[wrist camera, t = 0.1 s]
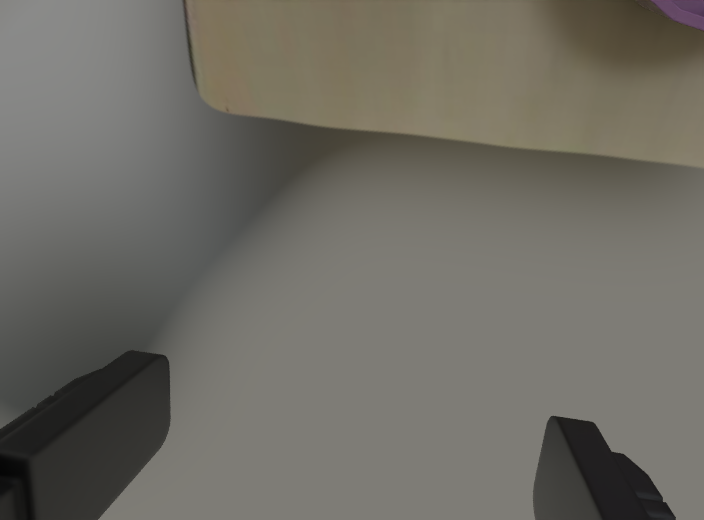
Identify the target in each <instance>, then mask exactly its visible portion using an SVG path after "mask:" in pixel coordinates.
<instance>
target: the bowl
mask: <svg viewBox="0 0 704 520" xmlns="http://www.w3.org/2000/svg"><path fill="white" fill-rule="evenodd" d="M635 1H636V2H637V3H638V4H639V5H640V6H642V7H644V8H646V9H648V10H651V11H653V12H655V13H657V14H659V15H662V16H664V17H666V18H668V19H670V20H673V21H675V22H678V23H681V24H684V25H687V26H690V27H693V28H696V29H699V30H702V31H704V0H635Z"/></svg>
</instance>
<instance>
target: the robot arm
mask: <svg viewBox="0 0 704 520" xmlns="http://www.w3.org/2000/svg"><path fill="white" fill-rule="evenodd" d="M169 426H170V371H169V361H168V359H167V357H166V356H164V355H160V354H153V353H147V352H140V351H134V350H130V351H127V352H125V353H124V354H122V355H121V356H120V357H118V358H117V359H115V360H114V361H113V362H111V363H110V364H108V365H107V366H105V367H104V368H102V369H99V370H96V371H94V372H91V373H89V374H86V375H84V376H81V377H79V378H76V379H74V380H73V381H71V382H70V383H68V384H67V385H65V386H64V387H62V388H61V389H60V390H58V391H56V392H55V394H54V396H49V397H48V398H46V399H44V400H43V401H41V402H40V403H38V404H37V407H36V408H34V407H32V408H31V409H30V410H28V411H27V412H25V413H24V414H22V415H21V416H19V417H18V418H17V419H15V420H13V421H12V422H10V423H9V424H7V425H6V426H4V427H3V428H1V429H0V520H98V519H99V518H100V517H101V515H102V514H103V513H104V512H105V511H106V510H107V509H108V507H109V506H110V505H111V504H112V503H113V502H114V501H115V499H116V498H117V497H118V496H119V495H120V494H121V493H122V491H123V490H124V489H125V488H126V487H127V486H128V484H129V483H130V482H131V481H132V480H133V479H134V478H135V477H136V475H137V474H138V473H139V472H140V471H141V469H143V467H144V466H145V465H146V464H147V463H148V462H149V461H150V459H151V458H152V457H153V456H154V455H155V454H156V452H157V451H158V450H159V449H160V448H161V446H162V445H163V443H164V441H165V439H166V436H167V434H168V431H169ZM533 507H534V514H535V520H676V517H675V516H674V514H673V513H672V511H671V510H670V508H669V507H668V505H667V503H666V502H663V497H662V496H661V494H660V493H659V491H658V490H657V488H656V487H655V485H654V484H653V482H652V481H651V479H650V477H649V476H648V475H647V474H646V473H645V472H644V471H643V470H642V469H641V468H639V467H638V466H637V465H636V464H635V463H633V462H632V461H631V460H630V459H629V458H628V457H626V456H625V455H624V454H621V453H615V452H611V450H610V448H609V446H608V445H607V443H606V441H605V440H604V438H603V436H602V434H601V433H600V431H599V429H598V428H597V426H596V425H595V424H594V423H593V422H590V421H583V420H577V419H570V418H564V417H557V416H551V417H550V418H549V420H548V422H547V426H546V430H545V435H544V439H543V444H542V449H541V454H540V458H539V463H538V468H537V472H536V477H535V482H534V490H533Z"/></svg>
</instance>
